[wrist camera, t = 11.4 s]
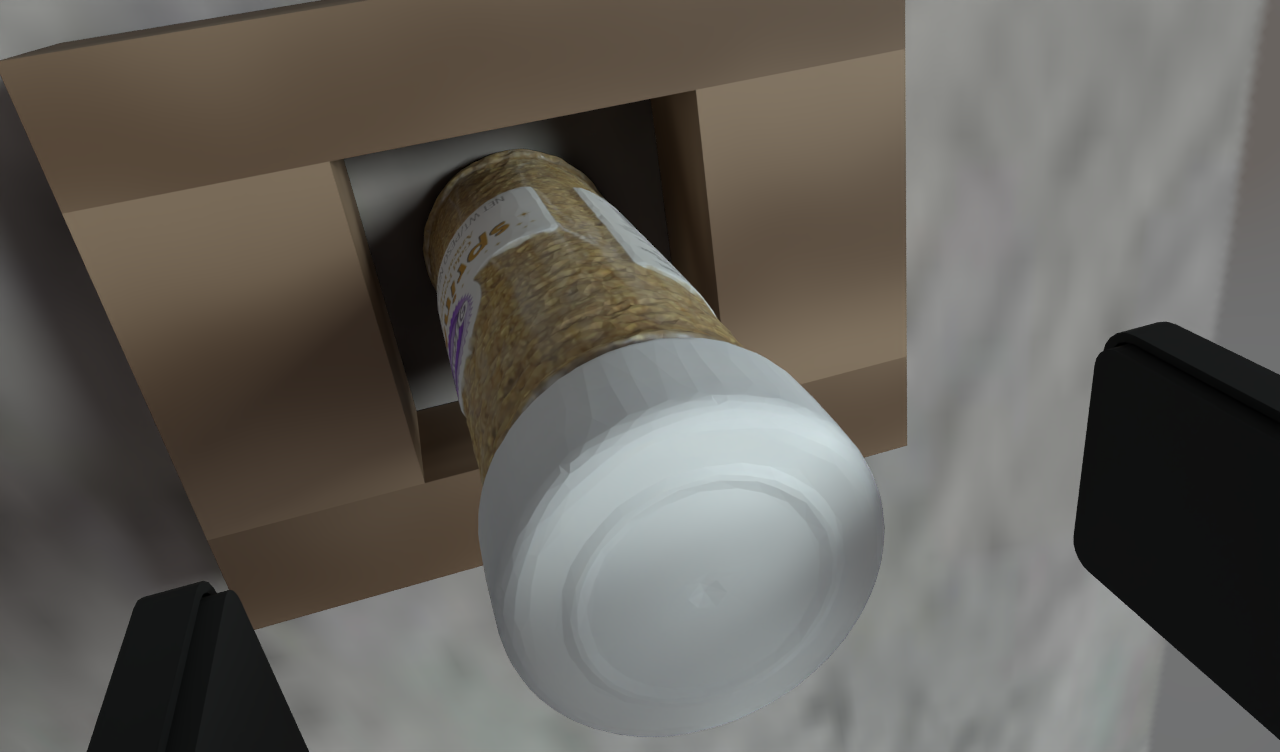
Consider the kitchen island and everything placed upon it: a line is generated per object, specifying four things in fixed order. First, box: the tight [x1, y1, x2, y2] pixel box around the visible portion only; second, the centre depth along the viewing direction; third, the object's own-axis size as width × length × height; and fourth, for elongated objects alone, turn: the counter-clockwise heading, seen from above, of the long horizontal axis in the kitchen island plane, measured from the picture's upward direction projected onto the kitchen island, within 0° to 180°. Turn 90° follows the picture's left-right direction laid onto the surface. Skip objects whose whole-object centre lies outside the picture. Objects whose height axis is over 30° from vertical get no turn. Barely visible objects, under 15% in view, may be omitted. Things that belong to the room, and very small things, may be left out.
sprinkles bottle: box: [423, 149, 885, 737], centre depth 16 cm, size 5×5×13 cm
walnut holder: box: [0, 0, 907, 630], centre depth 20 cm, size 12×16×4 cm
